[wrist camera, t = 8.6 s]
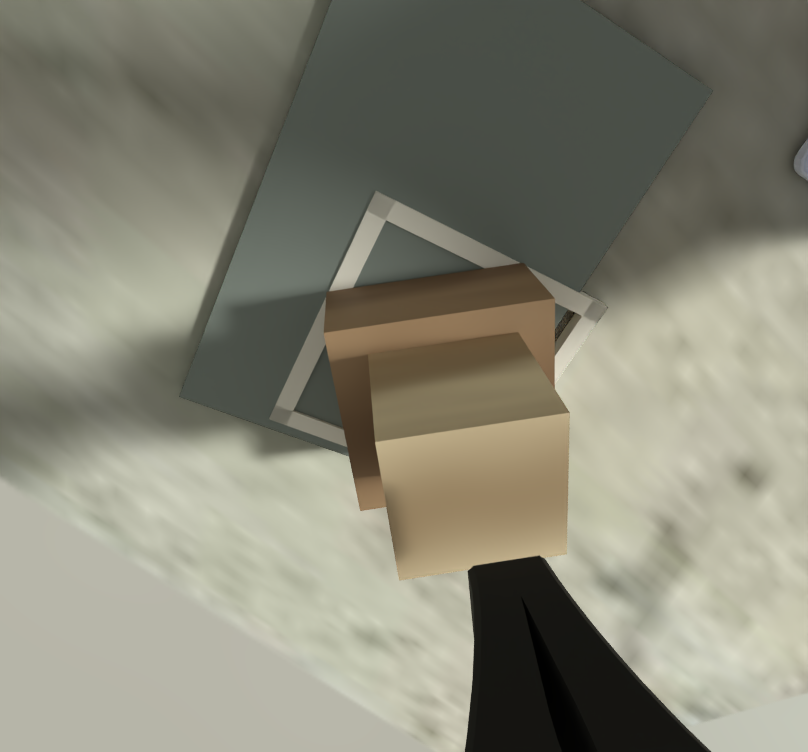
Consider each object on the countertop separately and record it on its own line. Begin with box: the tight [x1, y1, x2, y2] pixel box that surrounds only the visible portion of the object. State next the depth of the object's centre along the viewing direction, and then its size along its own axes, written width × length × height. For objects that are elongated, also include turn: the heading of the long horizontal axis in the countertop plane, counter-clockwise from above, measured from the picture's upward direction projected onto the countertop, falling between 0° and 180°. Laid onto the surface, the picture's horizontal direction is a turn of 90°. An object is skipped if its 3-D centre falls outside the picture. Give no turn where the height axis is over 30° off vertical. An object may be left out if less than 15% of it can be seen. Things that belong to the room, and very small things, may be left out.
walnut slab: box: [324, 263, 555, 511], centre depth 18 cm, size 6×6×3 cm
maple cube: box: [368, 332, 570, 580], centre depth 15 cm, size 4×4×4 cm
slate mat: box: [179, 0, 713, 456], centre depth 18 cm, size 15×11×1 cm
